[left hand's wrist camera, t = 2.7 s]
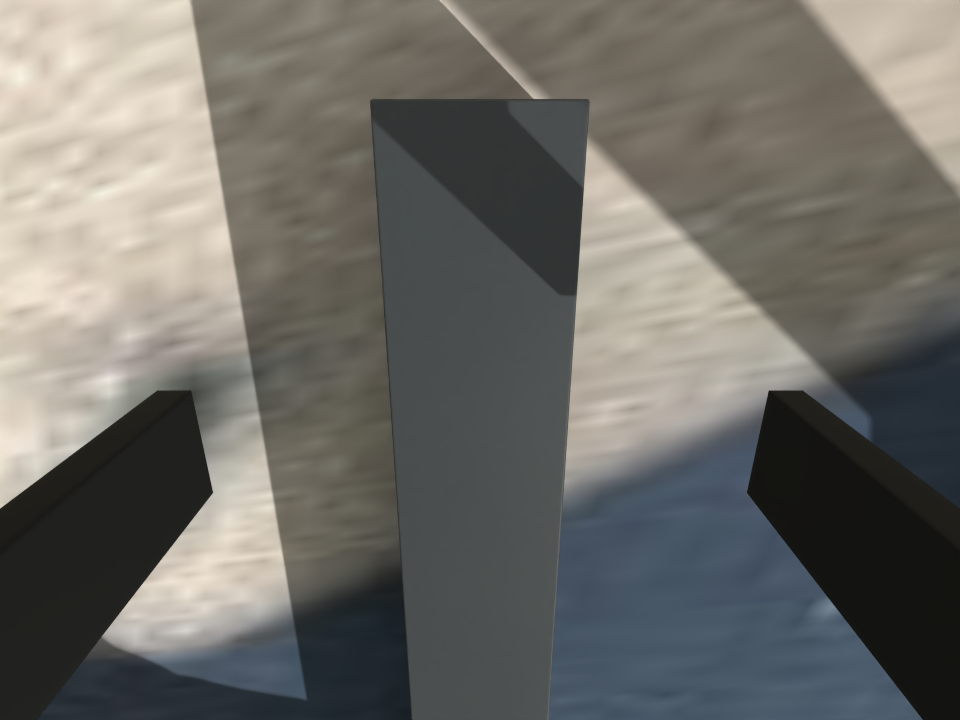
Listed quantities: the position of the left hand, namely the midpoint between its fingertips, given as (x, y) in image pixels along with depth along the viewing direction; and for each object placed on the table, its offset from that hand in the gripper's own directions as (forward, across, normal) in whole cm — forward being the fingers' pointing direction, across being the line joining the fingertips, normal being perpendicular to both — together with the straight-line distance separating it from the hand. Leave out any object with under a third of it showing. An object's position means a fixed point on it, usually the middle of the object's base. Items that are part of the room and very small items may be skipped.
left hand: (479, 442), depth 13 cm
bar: (+12, 0, -23) cm, 26 cm away
